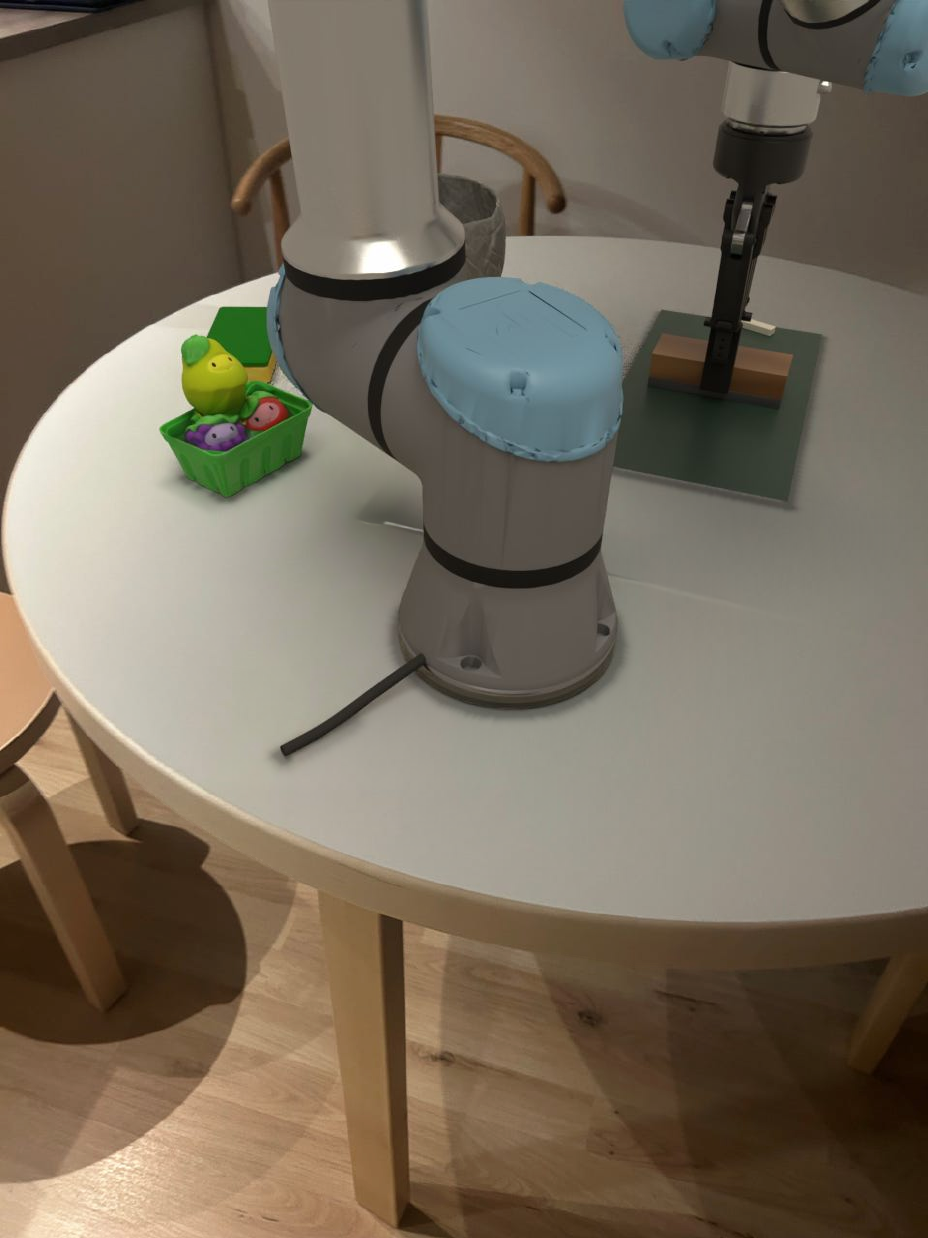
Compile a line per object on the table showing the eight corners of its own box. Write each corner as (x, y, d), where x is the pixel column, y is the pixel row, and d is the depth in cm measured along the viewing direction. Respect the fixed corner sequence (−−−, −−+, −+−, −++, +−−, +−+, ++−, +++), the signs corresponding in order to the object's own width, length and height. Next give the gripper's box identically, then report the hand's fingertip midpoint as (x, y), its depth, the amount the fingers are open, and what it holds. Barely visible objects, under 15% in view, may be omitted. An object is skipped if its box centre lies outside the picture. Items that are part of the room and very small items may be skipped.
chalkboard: (786, 506, 81) (787, 501, 81) (580, 464, 85) (580, 459, 85) (820, 338, 107) (822, 333, 106) (660, 313, 111) (661, 309, 111)
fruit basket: (226, 510, 79) (203, 385, 72) (156, 475, 83) (128, 352, 76) (322, 455, 86) (310, 335, 79) (253, 424, 90) (236, 308, 83)
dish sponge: (198, 383, 96) (194, 361, 95) (223, 326, 107) (220, 305, 105) (269, 384, 96) (267, 361, 95) (287, 326, 107) (285, 305, 105)
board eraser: (779, 409, 93) (787, 375, 91) (647, 385, 96) (652, 352, 94) (785, 387, 96) (793, 354, 94) (657, 365, 100) (662, 333, 98)
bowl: (307, 376, 98) (292, 225, 88) (323, 297, 113) (311, 161, 104) (507, 375, 99) (514, 225, 89) (496, 297, 114) (501, 162, 104)
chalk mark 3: (774, 333, 106) (776, 326, 106) (769, 336, 106) (771, 329, 105) (734, 320, 109) (735, 313, 108) (729, 323, 108) (730, 316, 108)
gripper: (807, 147, 72) (743, 426, 87) (821, 108, 81) (762, 367, 97) (707, 136, 74) (662, 411, 89) (732, 100, 83) (688, 354, 99)
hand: (714, 388), depth 93 cm, fingers closed
